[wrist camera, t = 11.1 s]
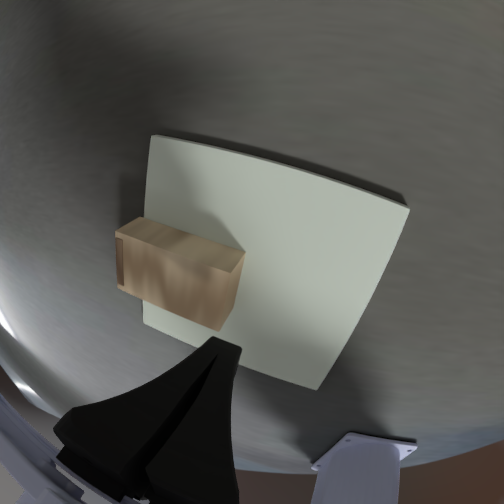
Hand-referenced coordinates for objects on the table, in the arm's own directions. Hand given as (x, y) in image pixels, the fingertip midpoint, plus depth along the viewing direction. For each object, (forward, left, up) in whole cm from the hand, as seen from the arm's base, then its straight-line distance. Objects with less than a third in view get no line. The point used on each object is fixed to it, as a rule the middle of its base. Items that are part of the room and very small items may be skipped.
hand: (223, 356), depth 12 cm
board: (0, +1, -6) cm, 6 cm away
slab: (0, +1, -4) cm, 5 cm away
